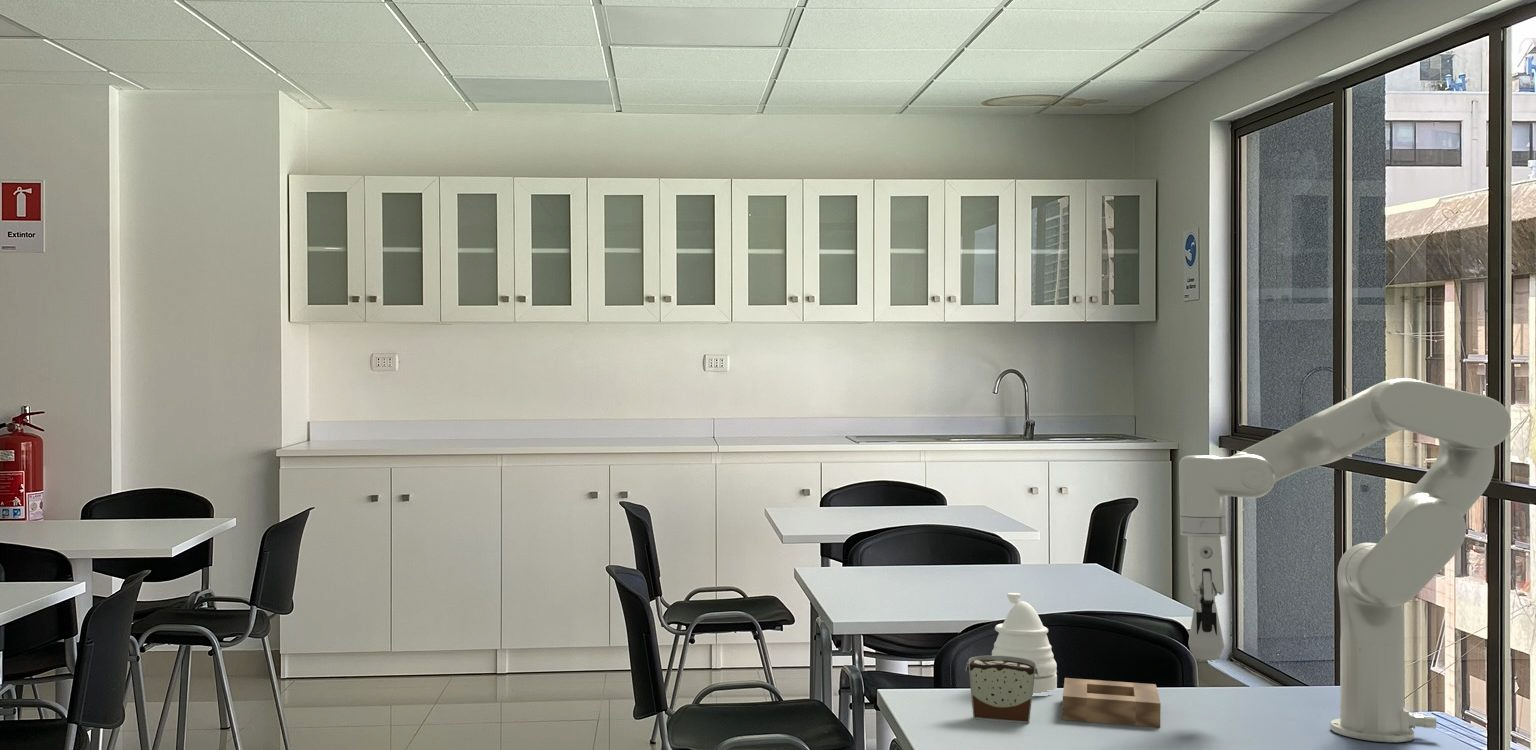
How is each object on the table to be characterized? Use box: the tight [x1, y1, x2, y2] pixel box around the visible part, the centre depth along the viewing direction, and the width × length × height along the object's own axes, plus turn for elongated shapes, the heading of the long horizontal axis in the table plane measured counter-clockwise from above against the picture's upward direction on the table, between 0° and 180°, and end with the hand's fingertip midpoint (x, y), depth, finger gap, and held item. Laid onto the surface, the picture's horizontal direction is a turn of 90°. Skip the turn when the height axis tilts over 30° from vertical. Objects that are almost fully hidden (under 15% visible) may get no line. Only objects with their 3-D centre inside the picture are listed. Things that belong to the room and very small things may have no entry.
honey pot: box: [991, 592, 1058, 693], centre depth 233 cm, size 13×13×18 cm
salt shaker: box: [1187, 586, 1225, 661], centre depth 210 cm, size 6×6×13 cm
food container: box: [965, 655, 1039, 724], centre depth 211 cm, size 12×6×10 cm, turn 74°
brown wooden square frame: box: [1062, 677, 1162, 728], centre depth 215 cm, size 16×16×4 cm
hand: (1205, 633), depth 210 cm, fingers closed on salt shaker, 3 cm apart
